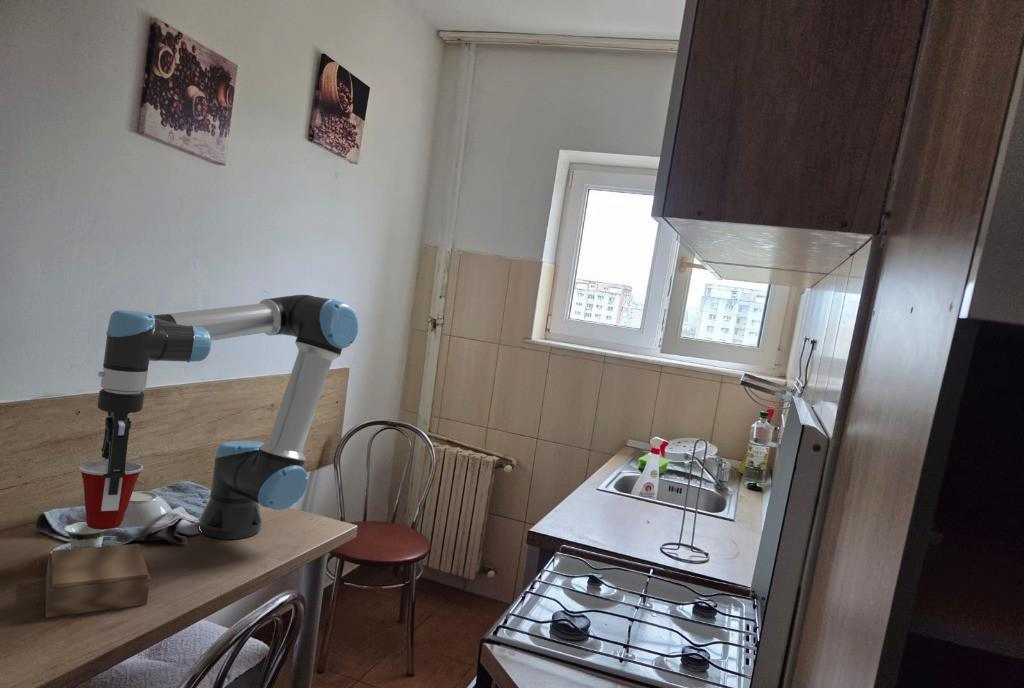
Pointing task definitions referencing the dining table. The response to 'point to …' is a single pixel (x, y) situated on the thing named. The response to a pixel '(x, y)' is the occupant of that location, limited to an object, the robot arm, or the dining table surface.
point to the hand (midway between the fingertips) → (107, 499)
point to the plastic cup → (95, 490)
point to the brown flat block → (95, 579)
